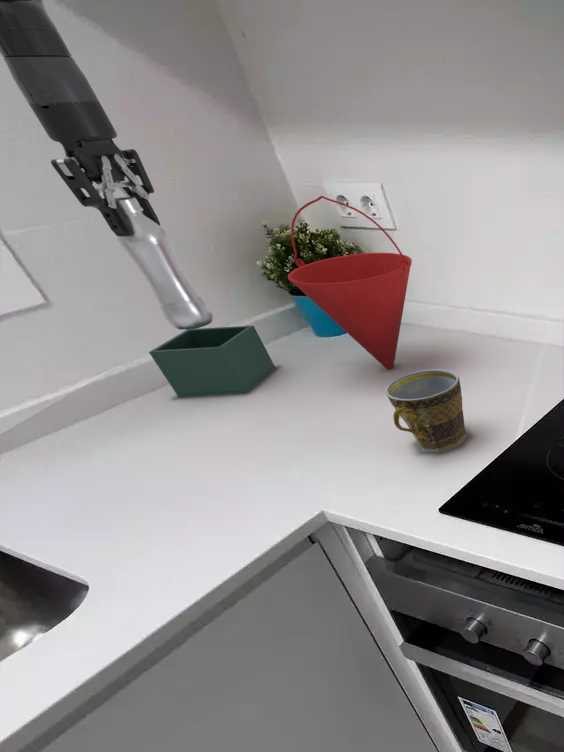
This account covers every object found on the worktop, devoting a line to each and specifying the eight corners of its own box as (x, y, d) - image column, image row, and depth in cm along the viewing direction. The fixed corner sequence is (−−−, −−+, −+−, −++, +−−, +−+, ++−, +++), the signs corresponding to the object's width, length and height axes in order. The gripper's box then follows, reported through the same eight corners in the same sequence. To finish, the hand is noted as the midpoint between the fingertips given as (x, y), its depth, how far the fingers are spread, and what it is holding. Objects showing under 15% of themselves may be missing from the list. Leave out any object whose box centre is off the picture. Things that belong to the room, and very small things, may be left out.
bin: (180, 399, 99) (148, 352, 94) (214, 374, 108) (187, 329, 102) (248, 395, 100) (220, 347, 94) (277, 370, 109) (253, 325, 103)
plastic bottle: (192, 335, 94) (113, 203, 81) (164, 332, 96) (82, 202, 83) (227, 322, 99) (157, 195, 86) (199, 319, 100) (127, 194, 88)
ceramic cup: (430, 425, 90) (409, 367, 83) (487, 429, 88) (470, 370, 82) (384, 470, 80) (356, 408, 73) (447, 475, 78) (425, 412, 72)
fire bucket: (464, 352, 113) (417, 184, 94) (415, 395, 98) (347, 206, 79) (369, 348, 116) (304, 185, 97) (307, 390, 101) (216, 206, 82)
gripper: (74, 98, 82) (145, 222, 93) (-12, 102, 71) (80, 243, 82) (126, 96, 83) (191, 220, 93) (49, 100, 71) (133, 240, 82)
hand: (139, 230), depth 87 cm, fingers closed on plastic bottle, 6 cm apart
